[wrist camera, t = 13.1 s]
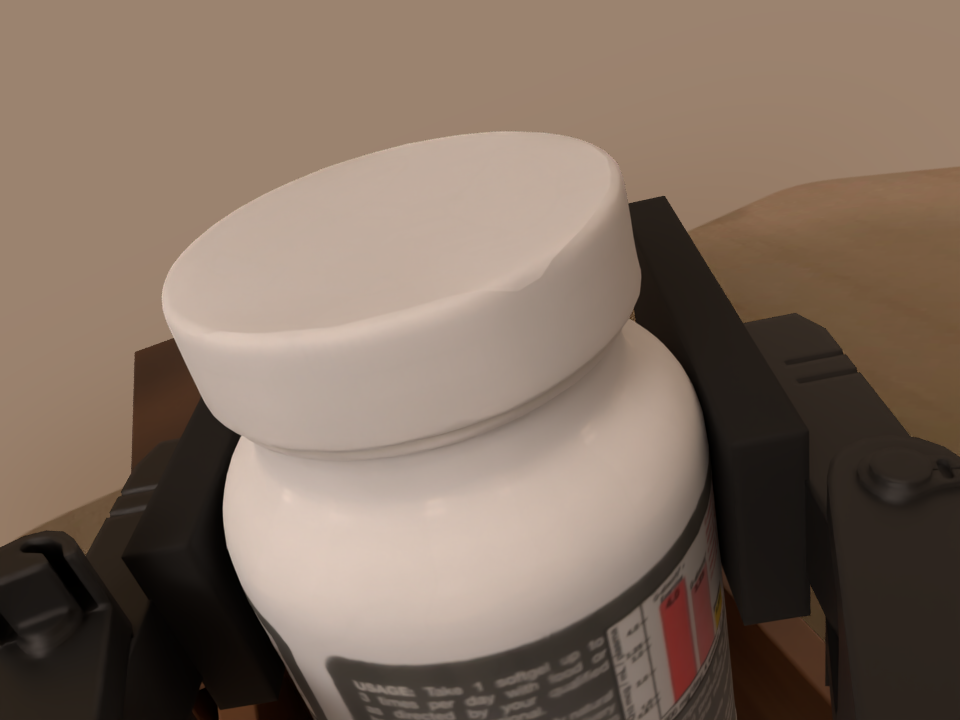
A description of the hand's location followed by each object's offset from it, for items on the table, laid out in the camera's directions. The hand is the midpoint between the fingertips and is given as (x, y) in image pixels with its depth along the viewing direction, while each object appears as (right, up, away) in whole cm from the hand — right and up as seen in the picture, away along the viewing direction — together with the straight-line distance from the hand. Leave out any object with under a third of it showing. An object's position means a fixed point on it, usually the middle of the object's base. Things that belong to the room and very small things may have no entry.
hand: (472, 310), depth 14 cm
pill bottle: (+1, -8, -1) cm, 8 cm away
